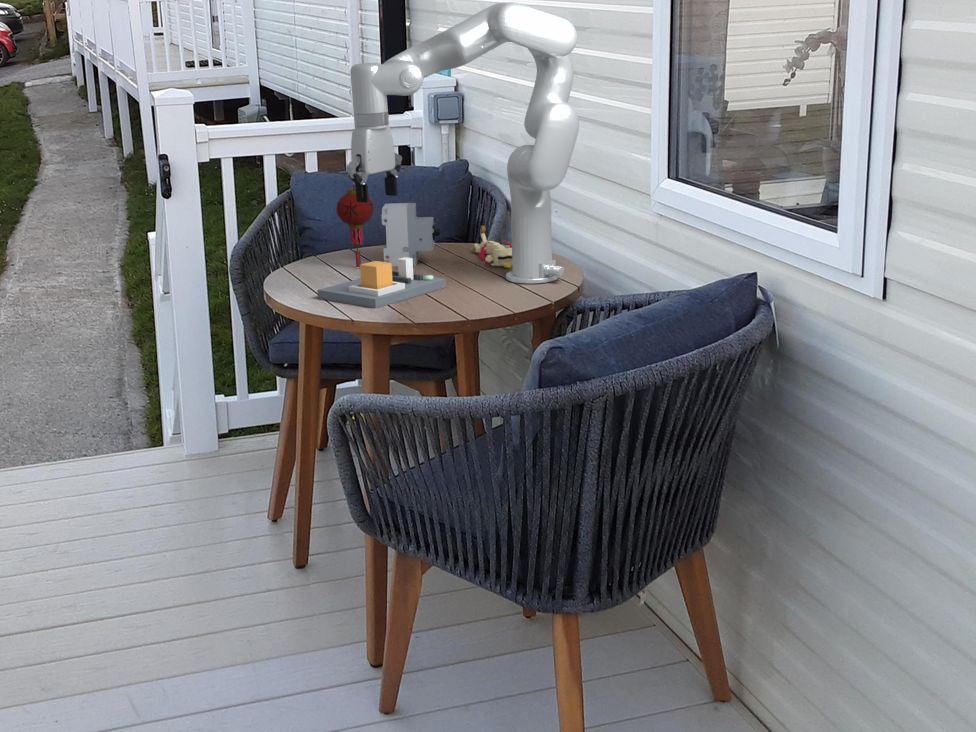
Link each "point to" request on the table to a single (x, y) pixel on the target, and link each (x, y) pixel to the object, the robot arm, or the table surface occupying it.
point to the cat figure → (493, 251)
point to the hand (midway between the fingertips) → (377, 198)
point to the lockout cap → (376, 275)
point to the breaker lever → (405, 267)
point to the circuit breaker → (406, 232)
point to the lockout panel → (382, 290)
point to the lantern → (354, 217)
